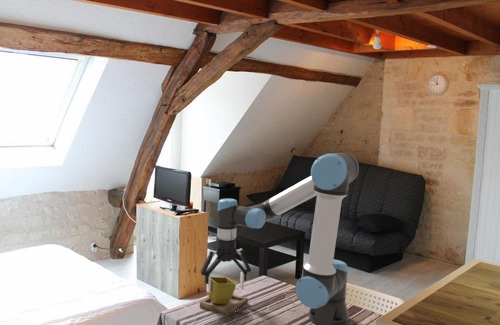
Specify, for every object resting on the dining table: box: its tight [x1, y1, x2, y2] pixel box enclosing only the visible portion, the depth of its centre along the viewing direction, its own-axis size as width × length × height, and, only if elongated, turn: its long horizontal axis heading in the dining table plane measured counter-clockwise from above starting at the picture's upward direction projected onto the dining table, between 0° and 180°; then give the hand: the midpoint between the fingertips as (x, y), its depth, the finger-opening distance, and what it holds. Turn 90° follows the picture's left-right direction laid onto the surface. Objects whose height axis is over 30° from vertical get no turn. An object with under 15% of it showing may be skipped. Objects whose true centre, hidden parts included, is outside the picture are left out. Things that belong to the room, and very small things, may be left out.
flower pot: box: [207, 276, 237, 304], centre depth 186 cm, size 9×9×9 cm
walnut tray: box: [199, 294, 249, 316], centre depth 187 cm, size 14×14×2 cm
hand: (225, 290), depth 187 cm, fingers open, 13 cm apart
